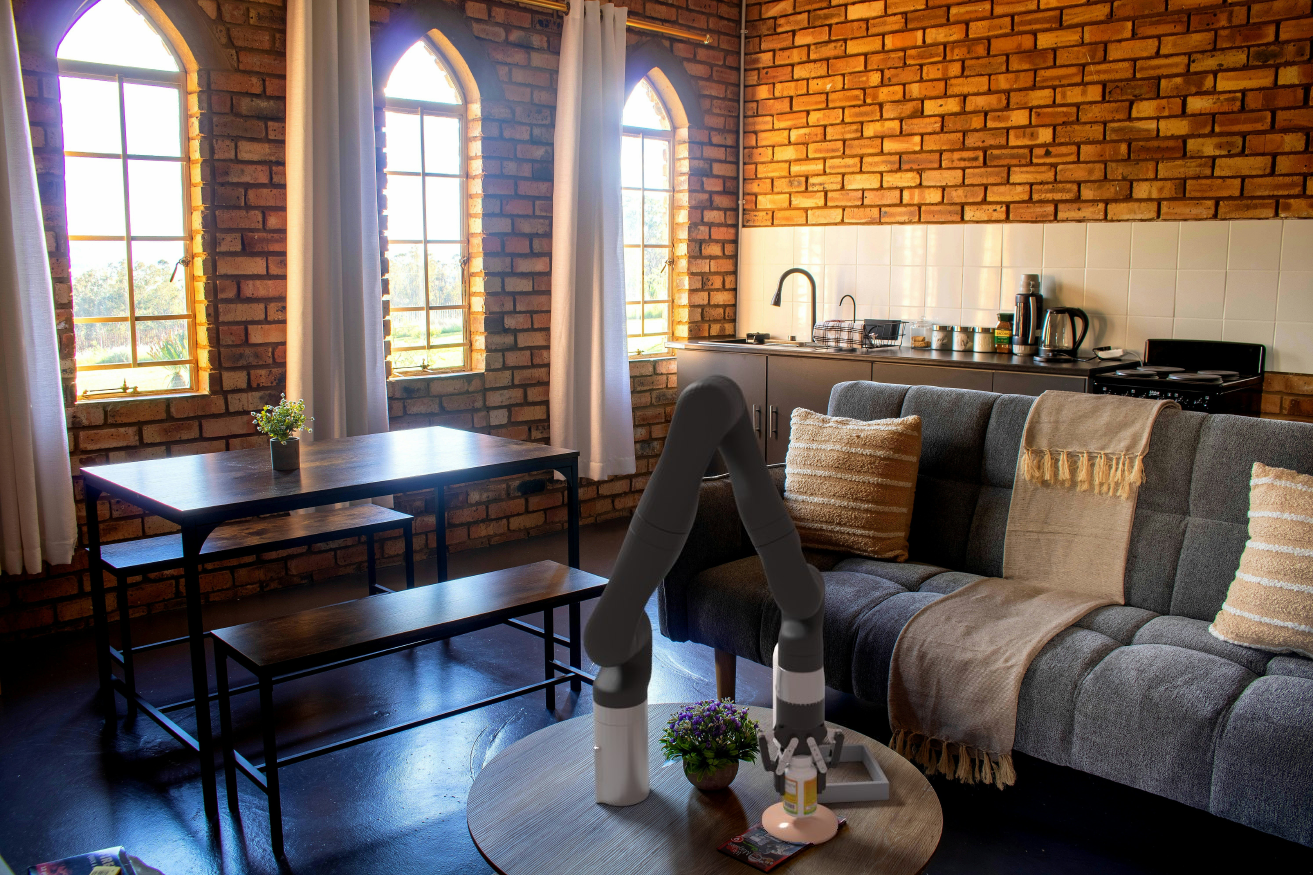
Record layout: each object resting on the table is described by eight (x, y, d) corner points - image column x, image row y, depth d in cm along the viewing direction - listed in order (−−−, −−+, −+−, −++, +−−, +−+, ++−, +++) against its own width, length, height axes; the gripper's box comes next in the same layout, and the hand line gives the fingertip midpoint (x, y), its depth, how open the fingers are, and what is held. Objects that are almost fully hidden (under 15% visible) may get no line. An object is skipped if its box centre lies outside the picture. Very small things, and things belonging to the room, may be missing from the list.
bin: (802, 803, 167) (802, 786, 167) (785, 762, 182) (785, 746, 181) (888, 799, 168) (889, 782, 168) (865, 758, 183) (865, 742, 182)
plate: (769, 846, 155) (769, 842, 155) (756, 806, 167) (756, 801, 167) (846, 843, 156) (846, 838, 156) (828, 803, 167) (828, 798, 167)
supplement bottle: (815, 801, 163) (816, 745, 162) (817, 819, 158) (818, 761, 156) (782, 800, 164) (782, 744, 162) (783, 818, 158) (783, 760, 157)
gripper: (758, 703, 154) (758, 806, 156) (851, 699, 154) (850, 802, 157) (751, 684, 161) (751, 783, 164) (839, 680, 162) (838, 778, 164)
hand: (799, 792), depth 160 cm, fingers closed on supplement bottle, 5 cm apart
